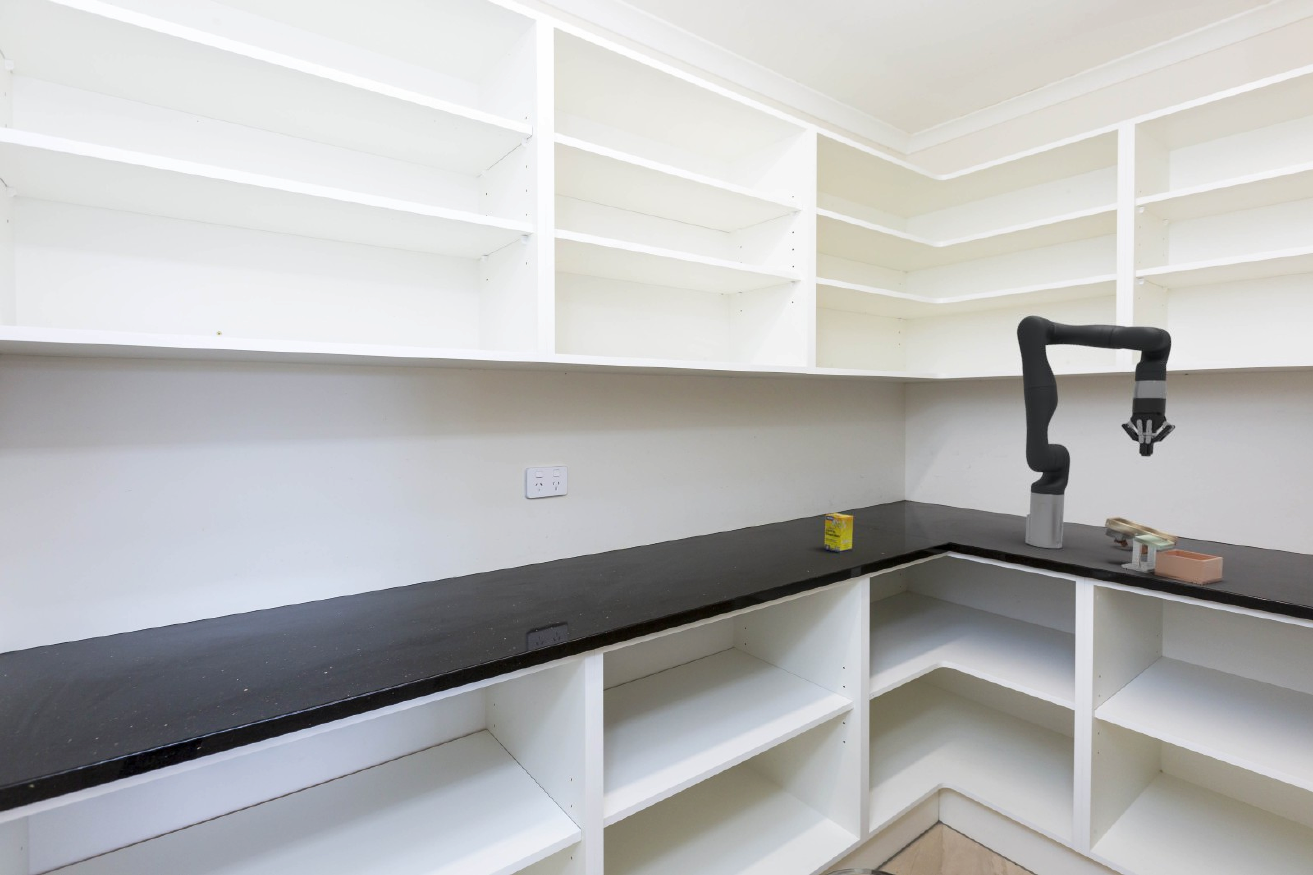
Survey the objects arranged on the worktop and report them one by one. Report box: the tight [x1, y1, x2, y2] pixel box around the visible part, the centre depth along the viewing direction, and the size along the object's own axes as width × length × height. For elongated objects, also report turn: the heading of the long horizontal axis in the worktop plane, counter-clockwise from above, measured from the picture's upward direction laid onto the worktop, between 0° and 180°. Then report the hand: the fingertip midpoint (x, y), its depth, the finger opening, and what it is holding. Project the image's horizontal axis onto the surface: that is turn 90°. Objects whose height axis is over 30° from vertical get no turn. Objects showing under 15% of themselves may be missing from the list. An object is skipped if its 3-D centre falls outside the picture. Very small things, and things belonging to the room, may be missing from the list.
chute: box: [1104, 516, 1179, 551], centre depth 167 cm, size 17×13×5 cm
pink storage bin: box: [1154, 548, 1224, 586], centre depth 159 cm, size 10×10×6 cm
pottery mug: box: [1113, 538, 1148, 554], centre depth 192 cm, size 12×10×8 cm
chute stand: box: [1121, 533, 1157, 574], centre depth 168 cm, size 6×10×10 cm, turn 116°
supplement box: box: [824, 512, 854, 554], centre depth 185 cm, size 6×6×11 cm
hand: (1146, 456), depth 175 cm, fingers closed
